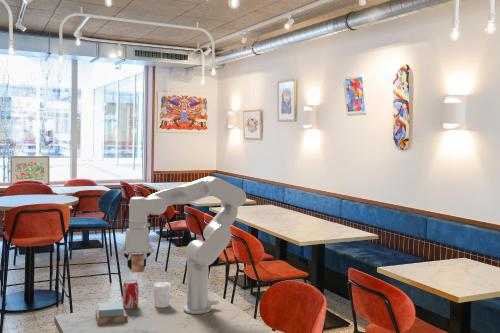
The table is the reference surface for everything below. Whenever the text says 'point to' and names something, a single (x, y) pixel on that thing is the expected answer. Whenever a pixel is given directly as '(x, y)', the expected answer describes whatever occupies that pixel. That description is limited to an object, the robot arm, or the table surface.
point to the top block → (110, 309)
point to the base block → (111, 318)
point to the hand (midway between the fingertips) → (136, 267)
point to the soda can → (130, 294)
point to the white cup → (161, 294)
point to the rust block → (137, 262)
